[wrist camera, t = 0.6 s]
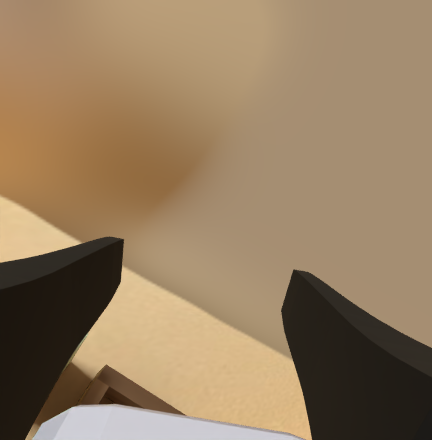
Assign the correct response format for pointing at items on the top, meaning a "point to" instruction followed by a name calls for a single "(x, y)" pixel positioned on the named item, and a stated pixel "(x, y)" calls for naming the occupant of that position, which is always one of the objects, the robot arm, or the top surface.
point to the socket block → (122, 392)
